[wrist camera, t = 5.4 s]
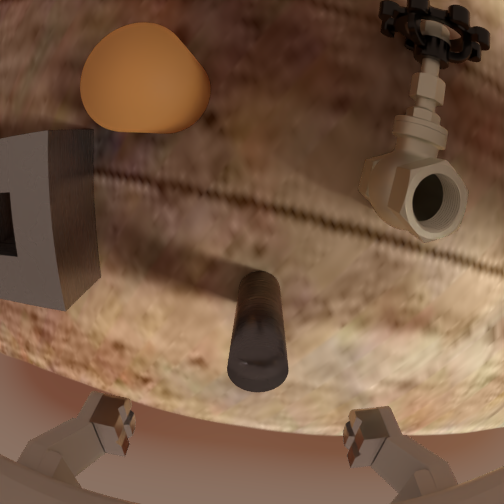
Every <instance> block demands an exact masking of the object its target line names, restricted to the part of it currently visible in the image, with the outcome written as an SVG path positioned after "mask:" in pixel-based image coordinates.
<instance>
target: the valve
mask: <svg viewBox="0 0 504 504" xmlns="http://www.w3.org/2000/svg"><path fill="white" fill-rule="evenodd" d="M392 17H393V18H392ZM379 18H380V19H381V20H382V24H381V33H382V34H383V35H385V36H388V37H392V38H394V34H395V32H400V33H401V34H402V35H403V36H405V37H406V39H405V48H406V49H408V50H411V51H413V54H414V58H415V60H416V61H418V62H419V63H421V64H422V68H421V72H418V73H415V74H413V75H412V79H411V86H410V92H409V97H411V98H412V99H414V100H415V104H414V107H409V108H407V110H406V115H396V116H395V120H394V125H393V130H392V134H393V135H394V136H396V137H397V141H396V146H395V149H394V151H393V152H391V153H387V154H384V155H380V156H376V157H373V158H369V159H366V160H365V162H364V167H363V171H362V175H361V179H360V183H359V188H358V191H359V192H360V193H361V194H362V195H363V196H364V197H365V198H366V199H367V200H368V201H369V202H370V203H371V204H372V206H373V208H374V210H375V212H376V213H377V214H378V216H379V217H380V218H381V219H382V220H383V221H385V222H386V223H387V224H389V225H390V226H392V227H394V228H397V229H400V230H406V231H409V232H410V233H411V234H412V235H414V236H415V237H417V238H418V239H419V240H421V241H422V242H424V243H426V242H430V241H434V240H437V239H440V238H443V237H446V236H448V235H450V234H452V233H454V232H456V231H458V229H459V227H460V224H461V222H462V219H463V216H464V213H465V210H466V205H467V200H468V192H469V191H468V189H467V187H466V185H465V184H464V182H463V180H462V179H461V177H460V176H459V175H458V173H457V172H456V171H455V169H454V168H453V167H452V166H451V164H450V163H449V162H448V161H447V160H444V159H438V158H437V156H438V151H439V150H445V147H446V142H447V137H448V131H447V130H446V129H445V128H444V127H442V126H440V120H441V118H440V117H439V116H438V115H437V114H436V113H435V108H436V106H443V102H444V95H445V87H446V84H445V83H444V81H443V80H442V79H440V78H439V77H438V76H439V69H446V68H448V66H449V62H452V63H463V62H465V61H466V60H470V61H472V62H480V61H481V50H485V51H486V50H489V49H490V33H489V32H488V31H487V30H486V29H484V28H482V27H478V26H474V27H470V12H469V11H468V10H467V9H466V8H465V7H462V6H460V5H451V6H449V8H448V10H441V9H437V8H434V7H432V6H430V1H429V0H407V7H401V6H399V5H398V4H397V3H395V2H393V1H389V0H384V1H381V2H380V8H379ZM421 19H425V20H426V21H423V22H421ZM428 20H430V21H428ZM440 23H442V24H444V25H447V26H449V27H450V28H452V29H454V30H455V31H456V32H458V33H459V34H460V36H461V37H460V38H458V39H454V40H449V37H450V32H449V30H448V29H447V28H446V27H445V26H444V25H442V24H440ZM477 42H478V43H479V44H478V43H477Z"/></svg>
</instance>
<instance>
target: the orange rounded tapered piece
mask: <svg viewBox="0 0 504 504" xmlns="http://www.w3.org/2000/svg"><path fill="white" fill-rule="evenodd" d="M80 92H81V98H82V102H83V105H84V107H85V109H86V111H87V113H88V114H89V116H90V117H91V118H92V119H93V120H94V121H95V122H96V123H97V124H99V125H100V126H102V127H104V128H106V129H109V130H112V131H117V132H139V133H161V134H170V133H176V132H179V131H182V130H184V129H187V128H188V127H190V126H191V125H193V124H194V123H195V122H196V121H197V120H198V119H199V118H200V117H201V116H202V114H203V113H204V111H205V110H206V108H207V105H208V103H209V99H210V94H211V86H210V80H209V77H208V75H207V73H206V71H205V69H204V68H203V67H202V66H201V64H200V63H199V62H198V61H197V59H196V58H195V57H194V56H193V55H192V53H191V52H190V51H189V50H188V49H187V48H186V46H185V45H184V44H183V43H182V42H181V40H180V39H179V38H178V37H177V36H176V35H175V34H174V33H173V32H172V31H170V30H169V29H167V28H165V27H164V26H161V25H158V24H154V23H147V22H140V23H133V24H128V25H125V26H123V27H120V28H118V29H116V30H114V31H113V32H111V33H109V34H108V35H107V36H106V37H104V38H103V39H102V40H101V41H100V42H99V43H98V44H97V45H96V46H95V48H94V49H93V50H92V52H91V53H90V55H89V56H88V58H87V60H86V62H85V65H84V67H83V71H82V75H81V81H80Z"/></svg>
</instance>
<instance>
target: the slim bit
mask: <svg viewBox="0 0 504 504" xmlns="http://www.w3.org/2000/svg"><path fill="white" fill-rule="evenodd" d="M227 372H228V376H229V378H230V379H231V381H232V382H233V383H234V384H235V385H236V386H238V387H240V388H241V389H244V390H247V391H251V392H265V391H269V390H272V389H275V388H276V387H278V386H280V385H281V384H282V383H283V382H284V381H285V379H286V377H287V375H288V360H287V350H286V341H285V331H284V321H283V312H282V303H281V294H280V286H279V283H278V281H277V279H276V278H275V277H274V276H273V275H271V274H270V273H267V272H264V271H255V272H252V273H250V274H248V275H246V276H245V277H244V278H243V279H242V281H241V283H240V286H239V293H238V299H237V306H236V313H235V319H234V326H233V332H232V339H231V346H230V352H229V359H228V366H227Z"/></svg>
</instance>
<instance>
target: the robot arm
mask: <svg viewBox="0 0 504 504" xmlns="http://www.w3.org/2000/svg"><path fill="white" fill-rule="evenodd" d="M131 407H132V403H131V400H130V399H129V398H124V397H120V396H115V395H110V394H106V393H101V392H97V391H93V392H91V393H90V395H89V396H88V398H87V400H86V402H85V404H84V405H83V407H82V409H81V411H80V413H79V414H78V416H77V418H72V419H70V420H68V421H66V422H64V423H62V424H60V425H59V426H57V427H55V428H53V429H51V430H49V431H47V432H45V433H43V434H41V435H39V436H38V437H36V438H34V439H32V440H30V441H29V442H28V444H27V445H26V447H25V449H24V450H23V452H22V454H21V455H20V457H19V459H18V461H17V462H15V461H13V460H10V459H9V458H7V457H5V456H3V455H1V454H0V504H139V503H135V502H130V501H126V500H122V499H118V498H114V497H110V496H106V495H103V494H99V493H96V492H93V491H89V490H86V489H83V488H81V486H80V484H79V483H78V481H77V480H76V478H75V477H76V476H77V475H78V474H79V473H81V472H82V471H83V470H85V469H86V468H87V467H88V466H90V465H91V464H92V463H94V462H95V461H96V460H97V459H98V458H100V457H101V456H102V455H104V454H105V453H110V454H114V455H119V456H125V455H126V453H127V450H128V447H129V440H128V438H130V437H131V436H133V433H134V430H135V415H134V413H133V412H132V411H131V410H130V409H131ZM348 417H349V422H347V423H346V424H345V427H344V430H343V441H344V446H345V447H346V448H347V449H349V451H348V454H347V457H348V461H349V465H350V468H355V467H366V466H371V468H373V469H374V470H375V471H376V472H377V473H378V474H379V475H380V476H381V477H382V478H383V479H384V480H385V481H386V482H387V483H388V484H389V485H391V487H393V488H394V489H395V490H396V491H397V492H398V493H399V494H398V495H397V496H396V497H395V499H394V500H393V501H392V502H391V504H504V466H503V467H500V468H498V469H496V470H494V471H491V472H489V473H487V474H484V475H482V476H479V477H477V478H474V479H472V480H469V481H466V482H464V483H461V484H458V483H457V481H456V479H455V476H454V474H453V472H452V470H451V468H450V466H449V464H448V462H447V461H445V460H443V459H442V458H440V457H439V456H437V455H436V454H434V453H433V452H431V451H430V450H428V449H427V448H425V447H424V446H422V445H421V444H419V443H417V442H416V441H414V440H413V439H412V438H410V437H409V436H407V435H402V432H401V430H400V428H399V426H398V423H397V421H396V419H395V417H394V415H393V412H392V410H391V408H390V407H389V406H385V407H376V408H365V409H354V410H351V411H350V413H349V416H348ZM104 452H105V453H104Z"/></svg>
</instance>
